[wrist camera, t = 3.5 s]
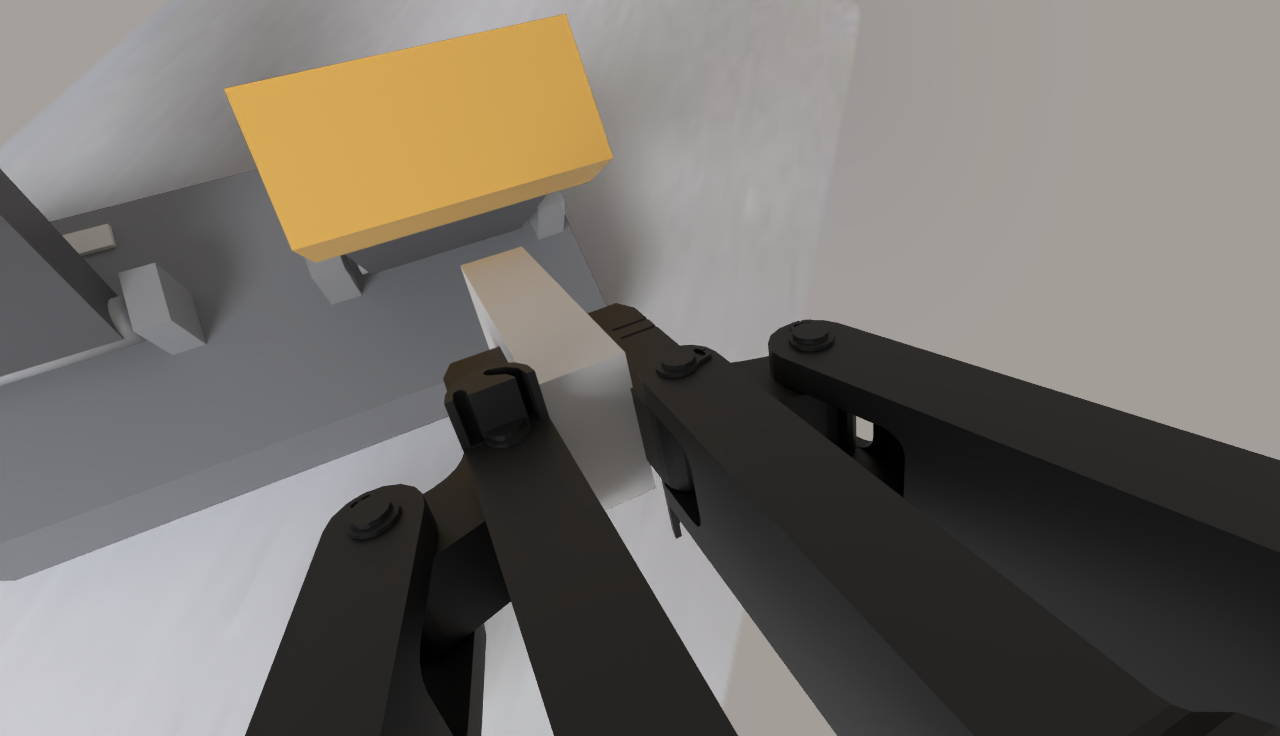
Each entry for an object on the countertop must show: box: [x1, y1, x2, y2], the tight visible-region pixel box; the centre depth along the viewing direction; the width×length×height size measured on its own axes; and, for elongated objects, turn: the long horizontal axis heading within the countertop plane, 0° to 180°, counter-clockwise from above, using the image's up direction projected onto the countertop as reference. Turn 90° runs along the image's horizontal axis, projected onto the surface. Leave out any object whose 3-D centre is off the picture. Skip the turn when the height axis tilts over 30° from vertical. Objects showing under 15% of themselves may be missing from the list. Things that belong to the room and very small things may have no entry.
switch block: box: [0, 169, 607, 581], centre depth 27 cm, size 26×12×8 cm, turn 115°
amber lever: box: [224, 14, 613, 274], centre depth 20 cm, size 3×7×15 cm, turn 114°
